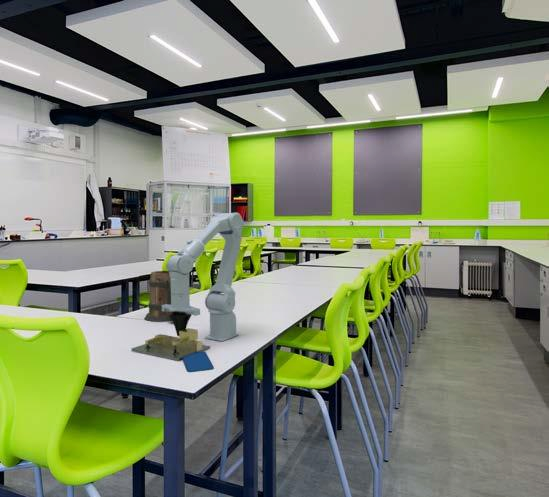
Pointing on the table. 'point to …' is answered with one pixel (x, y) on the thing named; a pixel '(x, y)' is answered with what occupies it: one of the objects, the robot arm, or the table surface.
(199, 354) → the smartphone
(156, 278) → the tankard
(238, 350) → the table surface
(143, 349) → the base
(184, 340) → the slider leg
